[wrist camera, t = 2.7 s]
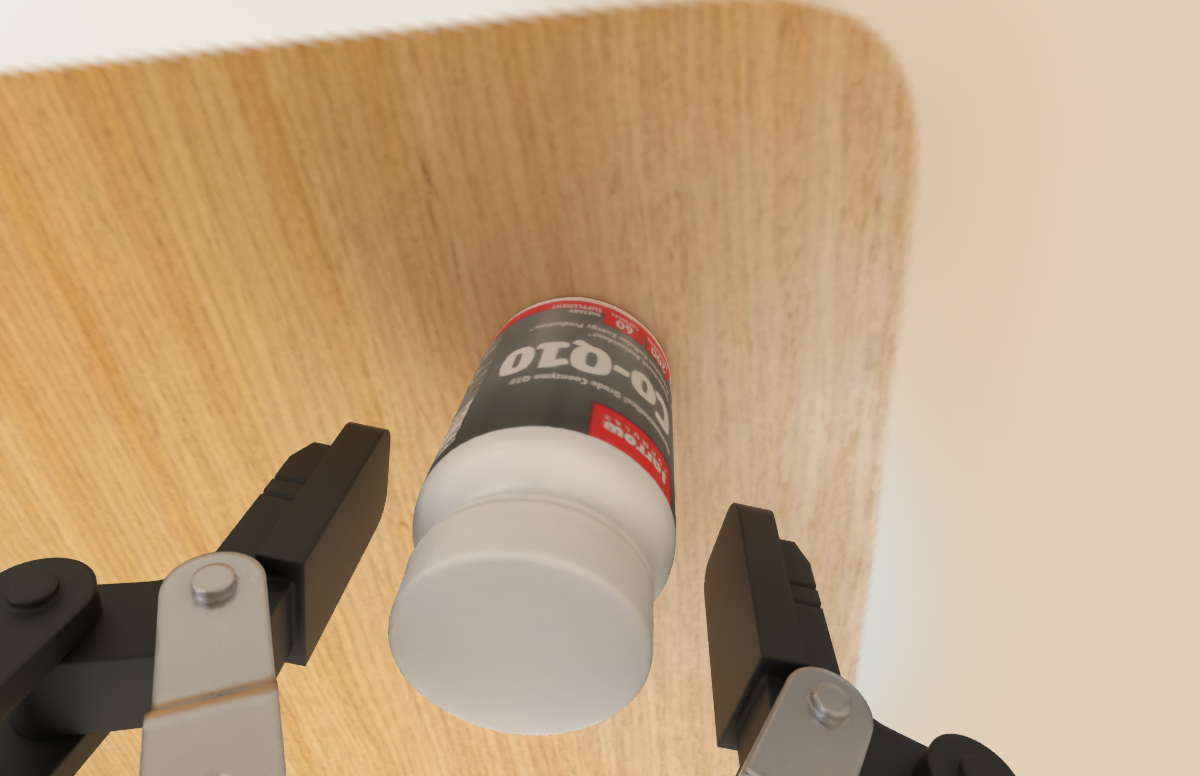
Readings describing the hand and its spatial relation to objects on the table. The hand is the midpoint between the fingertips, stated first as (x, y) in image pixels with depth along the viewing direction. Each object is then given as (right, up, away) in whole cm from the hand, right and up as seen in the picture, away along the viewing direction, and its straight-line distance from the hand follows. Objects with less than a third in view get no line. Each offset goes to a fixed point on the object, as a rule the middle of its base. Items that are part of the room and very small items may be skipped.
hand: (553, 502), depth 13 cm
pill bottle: (0, +3, +4) cm, 5 cm away
